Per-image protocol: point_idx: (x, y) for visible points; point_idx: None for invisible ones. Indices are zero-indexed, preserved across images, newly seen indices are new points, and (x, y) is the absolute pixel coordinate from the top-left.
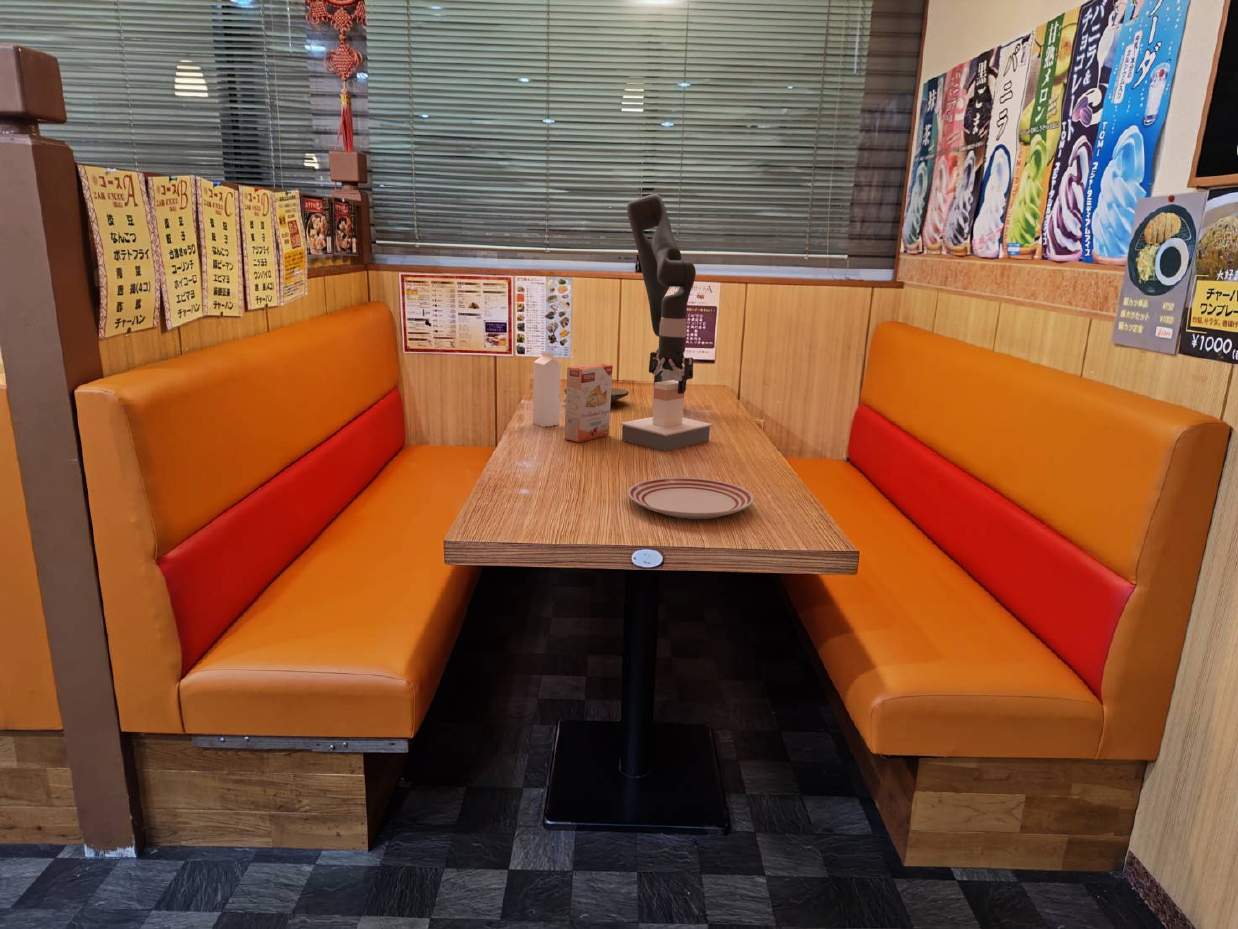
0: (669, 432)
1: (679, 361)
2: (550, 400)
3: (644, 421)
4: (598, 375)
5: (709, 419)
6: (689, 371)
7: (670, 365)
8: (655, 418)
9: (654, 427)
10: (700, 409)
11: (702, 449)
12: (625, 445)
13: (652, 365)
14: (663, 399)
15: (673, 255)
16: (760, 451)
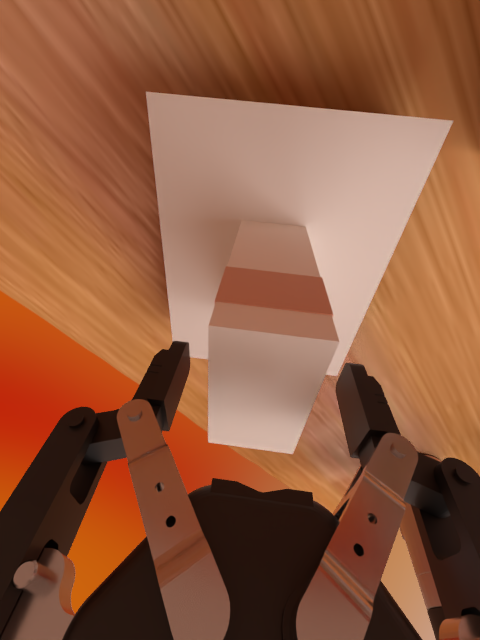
0: (163, 145)
1: (90, 605)
2: None
3: (354, 243)
4: None
5: (298, 444)
6: (78, 491)
7: (232, 539)
8: (291, 233)
9: (265, 178)
10: (347, 480)
11: (135, 239)
12: (352, 47)
13: (467, 534)
14: (245, 271)
15: None
16: (61, 318)
